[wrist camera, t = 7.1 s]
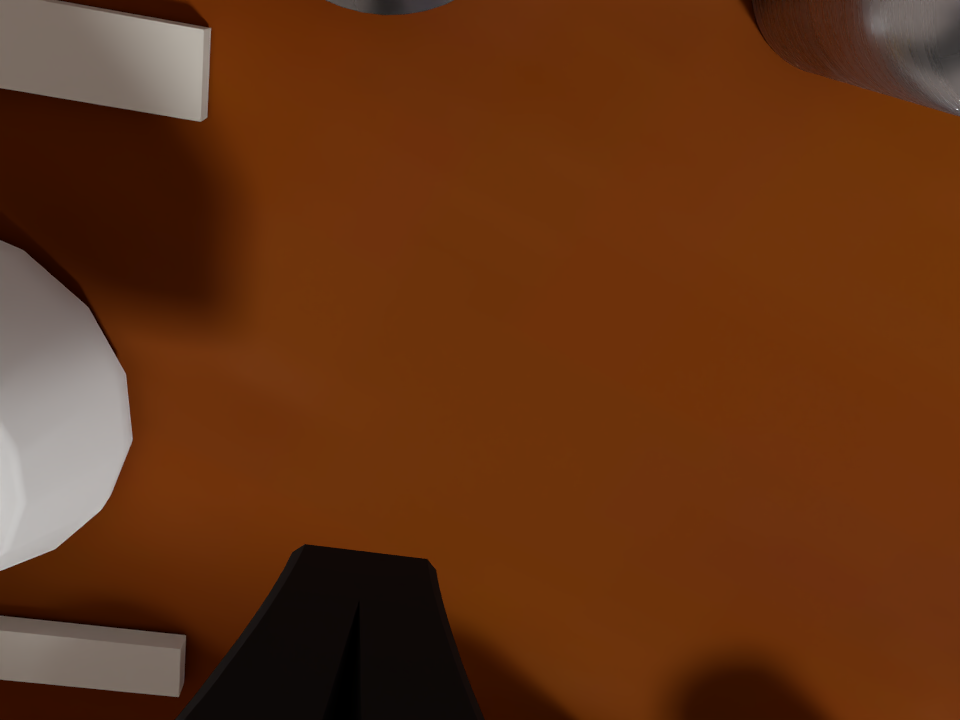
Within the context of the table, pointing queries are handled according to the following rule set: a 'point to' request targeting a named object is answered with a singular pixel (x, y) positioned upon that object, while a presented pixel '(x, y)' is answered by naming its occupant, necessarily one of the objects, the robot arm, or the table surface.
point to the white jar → (53, 411)
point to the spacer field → (839, 42)
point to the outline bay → (134, 86)
